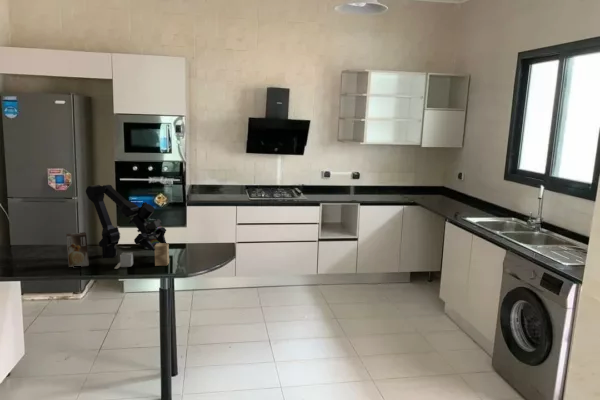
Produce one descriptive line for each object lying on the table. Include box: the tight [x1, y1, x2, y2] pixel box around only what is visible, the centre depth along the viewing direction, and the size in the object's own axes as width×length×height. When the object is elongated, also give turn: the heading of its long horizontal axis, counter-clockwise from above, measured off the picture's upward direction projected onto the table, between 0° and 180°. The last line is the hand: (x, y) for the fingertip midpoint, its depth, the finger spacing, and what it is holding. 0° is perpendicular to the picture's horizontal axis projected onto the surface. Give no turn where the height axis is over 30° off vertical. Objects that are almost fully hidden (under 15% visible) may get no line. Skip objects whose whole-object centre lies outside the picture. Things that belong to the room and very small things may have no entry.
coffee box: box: [65, 232, 90, 268], centre depth 237 cm, size 9×6×16 cm
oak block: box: [154, 242, 170, 267], centre depth 241 cm, size 6×6×10 cm
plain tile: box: [114, 262, 121, 270], centre depth 238 cm, size 10×10×1 cm
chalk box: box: [143, 226, 162, 250], centre depth 274 cm, size 9×9×15 cm
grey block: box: [119, 251, 134, 268], centre depth 238 cm, size 5×5×6 cm
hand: (160, 248), depth 241 cm, fingers open, 9 cm apart
